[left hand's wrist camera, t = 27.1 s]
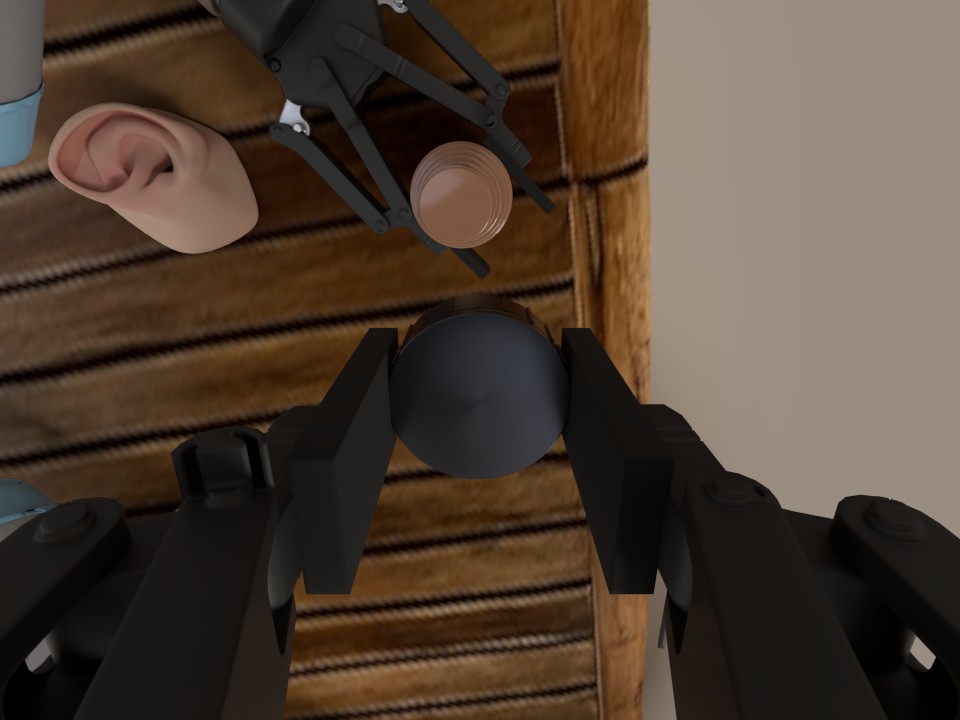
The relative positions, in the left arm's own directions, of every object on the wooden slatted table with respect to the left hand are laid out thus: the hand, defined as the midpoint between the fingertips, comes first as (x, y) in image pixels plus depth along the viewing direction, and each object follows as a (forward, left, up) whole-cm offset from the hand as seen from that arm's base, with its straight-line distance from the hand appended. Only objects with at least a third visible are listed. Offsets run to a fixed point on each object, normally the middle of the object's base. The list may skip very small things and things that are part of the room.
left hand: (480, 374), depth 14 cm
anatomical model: (-24, +9, -31) cm, 40 cm away
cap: (0, 0, +2) cm, 2 cm away
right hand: (+2, -1, -25) cm, 25 cm away
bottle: (0, +4, -31) cm, 31 cm away
